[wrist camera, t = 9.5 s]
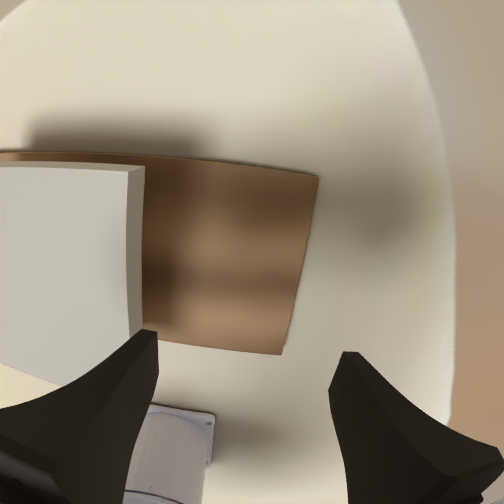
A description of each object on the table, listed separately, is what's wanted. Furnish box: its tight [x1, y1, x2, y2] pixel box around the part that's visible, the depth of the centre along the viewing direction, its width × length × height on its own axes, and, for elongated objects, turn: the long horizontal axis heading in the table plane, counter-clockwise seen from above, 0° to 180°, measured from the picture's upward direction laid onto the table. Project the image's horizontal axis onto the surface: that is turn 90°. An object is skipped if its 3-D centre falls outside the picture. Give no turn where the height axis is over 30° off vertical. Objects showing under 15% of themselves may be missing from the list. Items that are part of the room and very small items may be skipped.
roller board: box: [0, 151, 319, 355], centre depth 15 cm, size 12×34×8 cm, turn 82°
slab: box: [0, 161, 145, 386], centre depth 13 cm, size 12×12×2 cm
